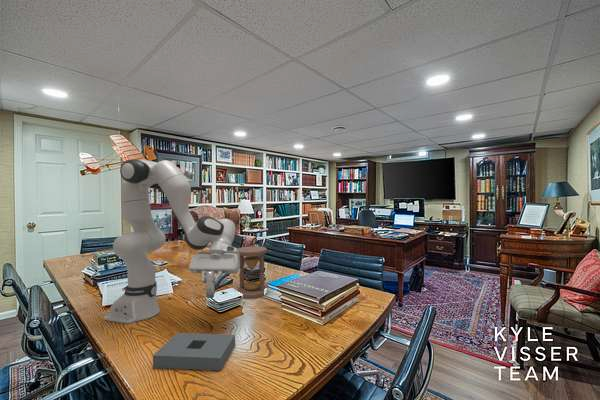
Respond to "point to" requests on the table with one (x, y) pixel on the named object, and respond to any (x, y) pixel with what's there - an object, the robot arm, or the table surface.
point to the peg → (209, 284)
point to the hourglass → (252, 287)
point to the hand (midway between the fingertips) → (209, 282)
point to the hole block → (195, 351)
